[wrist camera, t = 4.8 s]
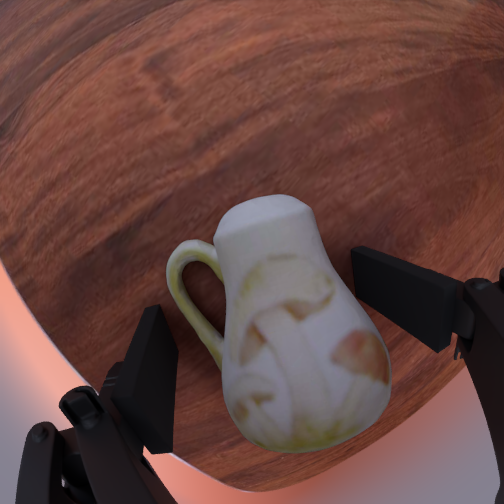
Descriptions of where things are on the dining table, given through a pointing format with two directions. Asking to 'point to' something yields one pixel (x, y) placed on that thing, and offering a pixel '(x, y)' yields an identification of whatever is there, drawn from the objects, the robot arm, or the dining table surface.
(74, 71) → the dining table surface
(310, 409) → the mug
